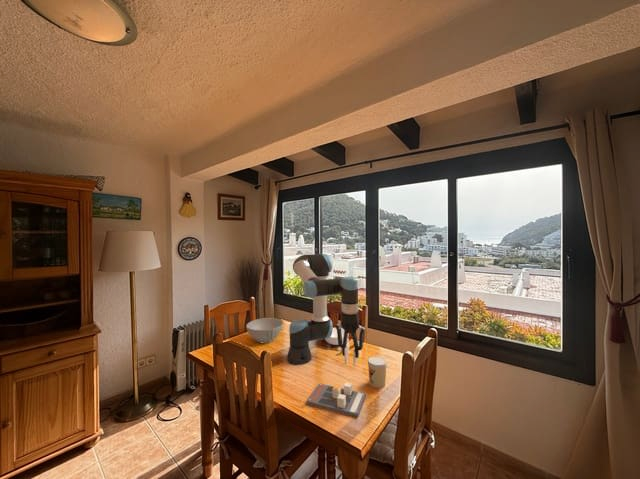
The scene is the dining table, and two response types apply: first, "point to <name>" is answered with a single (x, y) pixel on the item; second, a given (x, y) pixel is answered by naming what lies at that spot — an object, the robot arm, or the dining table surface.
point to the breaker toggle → (336, 391)
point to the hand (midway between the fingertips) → (350, 363)
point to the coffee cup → (377, 372)
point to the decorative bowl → (264, 329)
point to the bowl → (335, 337)
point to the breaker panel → (344, 403)
